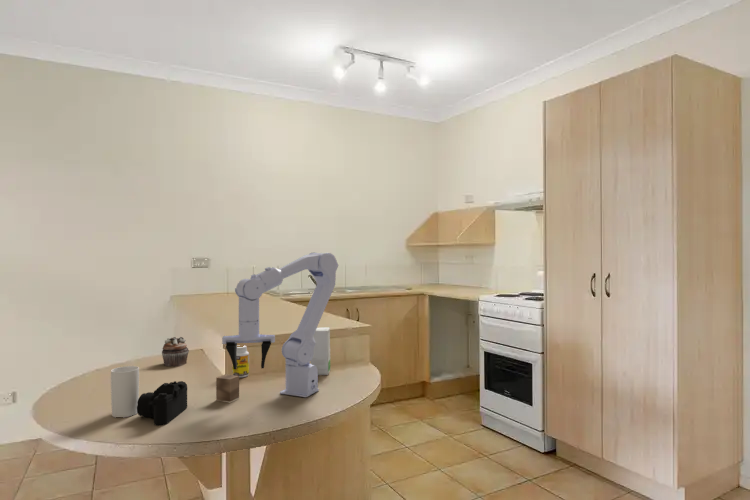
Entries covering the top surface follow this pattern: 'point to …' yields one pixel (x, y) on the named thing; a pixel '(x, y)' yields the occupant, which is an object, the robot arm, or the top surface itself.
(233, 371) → the supplement bottle
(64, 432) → the top surface
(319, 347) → the skincare box
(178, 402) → the film camera
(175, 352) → the cupcake
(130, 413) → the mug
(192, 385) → the top surface
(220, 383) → the walnut block
